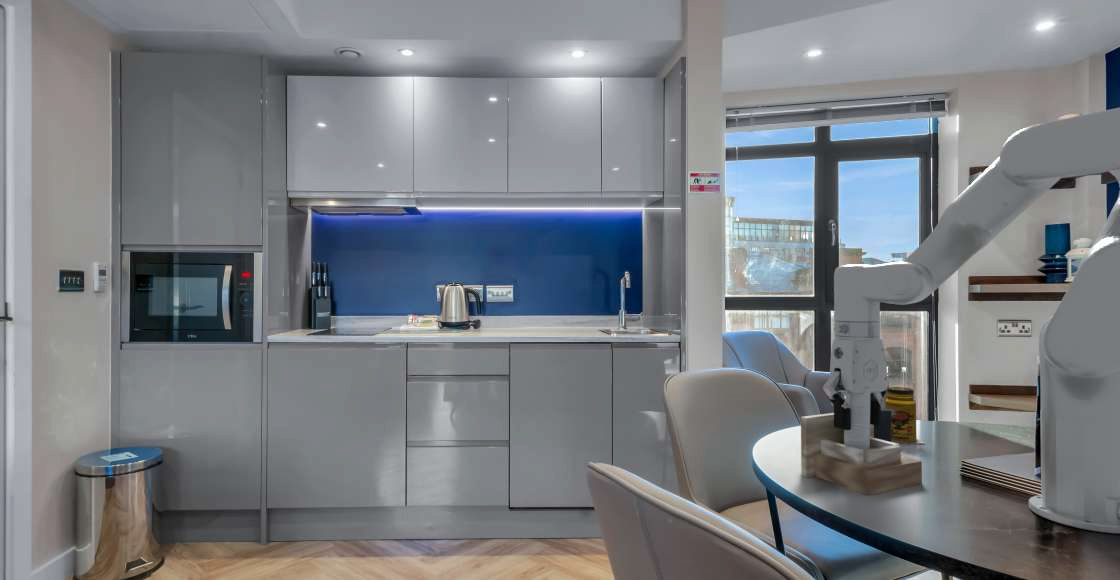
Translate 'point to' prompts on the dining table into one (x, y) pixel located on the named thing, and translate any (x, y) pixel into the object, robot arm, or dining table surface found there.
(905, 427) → the condiment
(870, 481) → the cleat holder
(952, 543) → the dining table surface
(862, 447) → the skincare box
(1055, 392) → the robot arm
